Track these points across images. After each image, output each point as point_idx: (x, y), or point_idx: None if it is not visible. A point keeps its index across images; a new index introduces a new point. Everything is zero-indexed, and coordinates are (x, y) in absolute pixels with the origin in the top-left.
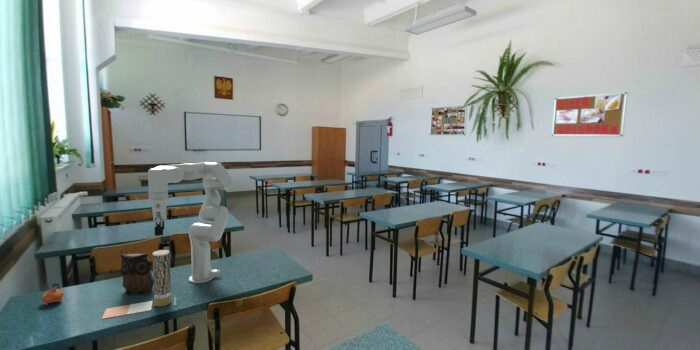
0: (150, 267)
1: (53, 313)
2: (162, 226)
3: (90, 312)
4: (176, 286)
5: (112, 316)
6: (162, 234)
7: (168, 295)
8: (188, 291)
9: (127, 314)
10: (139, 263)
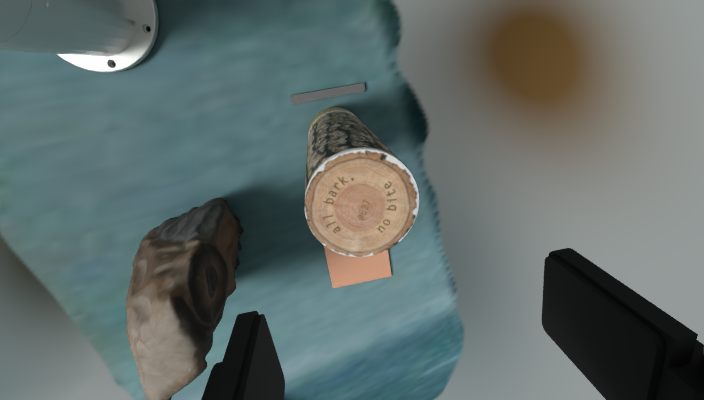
0: (198, 244)
1: (324, 387)
2: (693, 337)
3: (341, 315)
4: (183, 116)
5: (387, 255)
6: (571, 254)
7: (354, 115)
8: (242, 54)
9: None
10: (207, 301)
